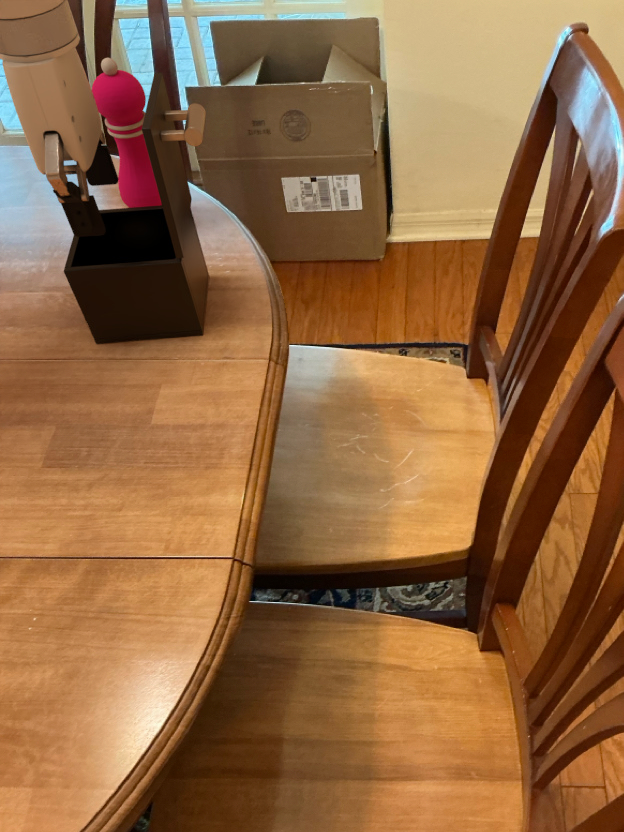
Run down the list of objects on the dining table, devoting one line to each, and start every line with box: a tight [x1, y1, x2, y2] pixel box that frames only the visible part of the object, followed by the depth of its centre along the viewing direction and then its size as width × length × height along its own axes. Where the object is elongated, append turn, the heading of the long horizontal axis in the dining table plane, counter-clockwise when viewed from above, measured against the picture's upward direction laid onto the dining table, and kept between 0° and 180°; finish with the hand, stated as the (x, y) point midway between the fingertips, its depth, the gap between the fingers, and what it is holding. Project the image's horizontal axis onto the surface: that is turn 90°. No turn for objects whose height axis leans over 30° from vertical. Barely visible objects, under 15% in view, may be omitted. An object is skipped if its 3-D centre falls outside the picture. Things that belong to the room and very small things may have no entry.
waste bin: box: [63, 205, 210, 345], centre depth 88 cm, size 12×11×10 cm
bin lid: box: [142, 72, 207, 258], centre depth 79 cm, size 13×11×5 cm
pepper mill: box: [91, 57, 162, 208], centre depth 95 cm, size 7×7×20 cm
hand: (97, 208), depth 82 cm, fingers open, 9 cm apart
